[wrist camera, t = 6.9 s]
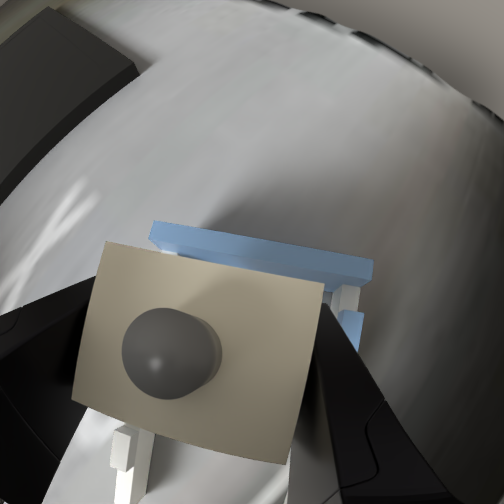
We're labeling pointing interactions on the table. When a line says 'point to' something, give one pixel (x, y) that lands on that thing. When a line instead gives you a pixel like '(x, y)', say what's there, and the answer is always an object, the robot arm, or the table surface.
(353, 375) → the robot arm
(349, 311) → the sled frame
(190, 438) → the beige drawer with knob
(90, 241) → the table surface
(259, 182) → the table surface
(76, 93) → the thin dark grey tray
